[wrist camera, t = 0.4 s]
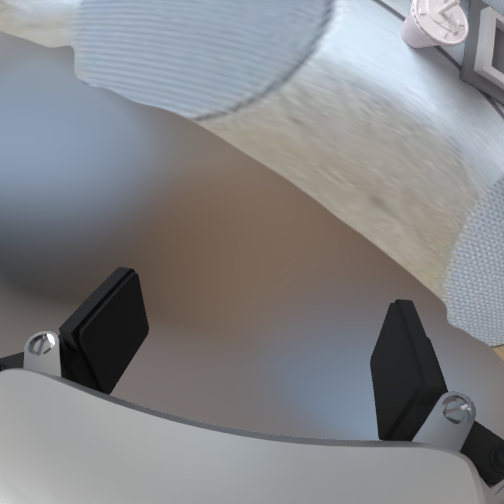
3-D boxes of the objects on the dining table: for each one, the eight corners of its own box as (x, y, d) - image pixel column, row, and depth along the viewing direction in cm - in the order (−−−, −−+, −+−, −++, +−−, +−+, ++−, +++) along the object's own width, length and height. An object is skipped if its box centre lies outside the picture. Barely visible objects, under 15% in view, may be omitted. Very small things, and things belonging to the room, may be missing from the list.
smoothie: (412, 6, 24) (456, -32, 12) (444, 44, 25) (501, 24, 13) (379, 26, 27) (414, -11, 14) (413, 66, 28) (463, 49, 16)
